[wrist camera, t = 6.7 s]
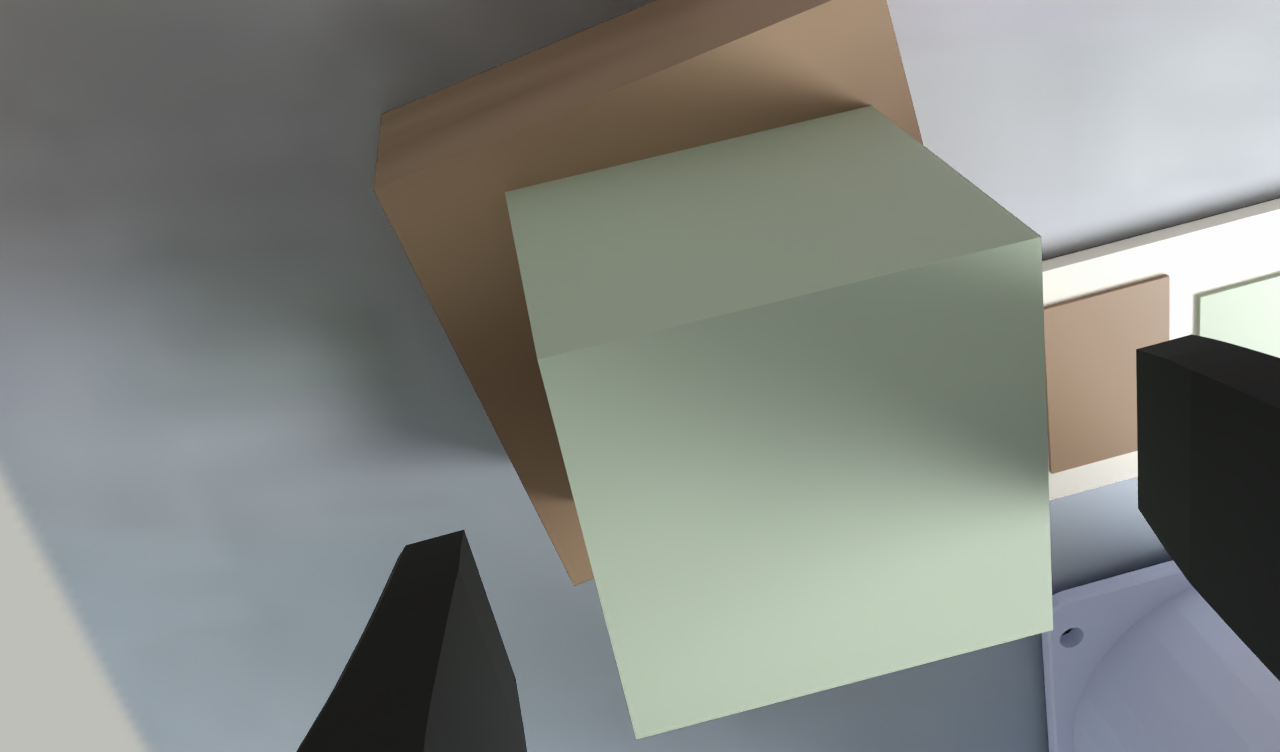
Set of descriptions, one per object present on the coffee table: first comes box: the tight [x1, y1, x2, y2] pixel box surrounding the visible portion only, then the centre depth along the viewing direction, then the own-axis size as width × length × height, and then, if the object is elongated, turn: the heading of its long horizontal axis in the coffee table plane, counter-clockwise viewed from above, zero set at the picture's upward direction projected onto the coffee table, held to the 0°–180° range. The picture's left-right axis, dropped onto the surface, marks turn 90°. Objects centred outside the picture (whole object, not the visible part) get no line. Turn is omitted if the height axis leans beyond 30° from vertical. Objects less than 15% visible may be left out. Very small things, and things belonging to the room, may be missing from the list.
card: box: [1042, 198, 1280, 501], centre depth 23 cm, size 5×7×1 cm
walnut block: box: [373, 0, 923, 586], centre depth 19 cm, size 7×7×4 cm
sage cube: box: [505, 105, 1053, 740], centre depth 15 cm, size 5×5×5 cm
